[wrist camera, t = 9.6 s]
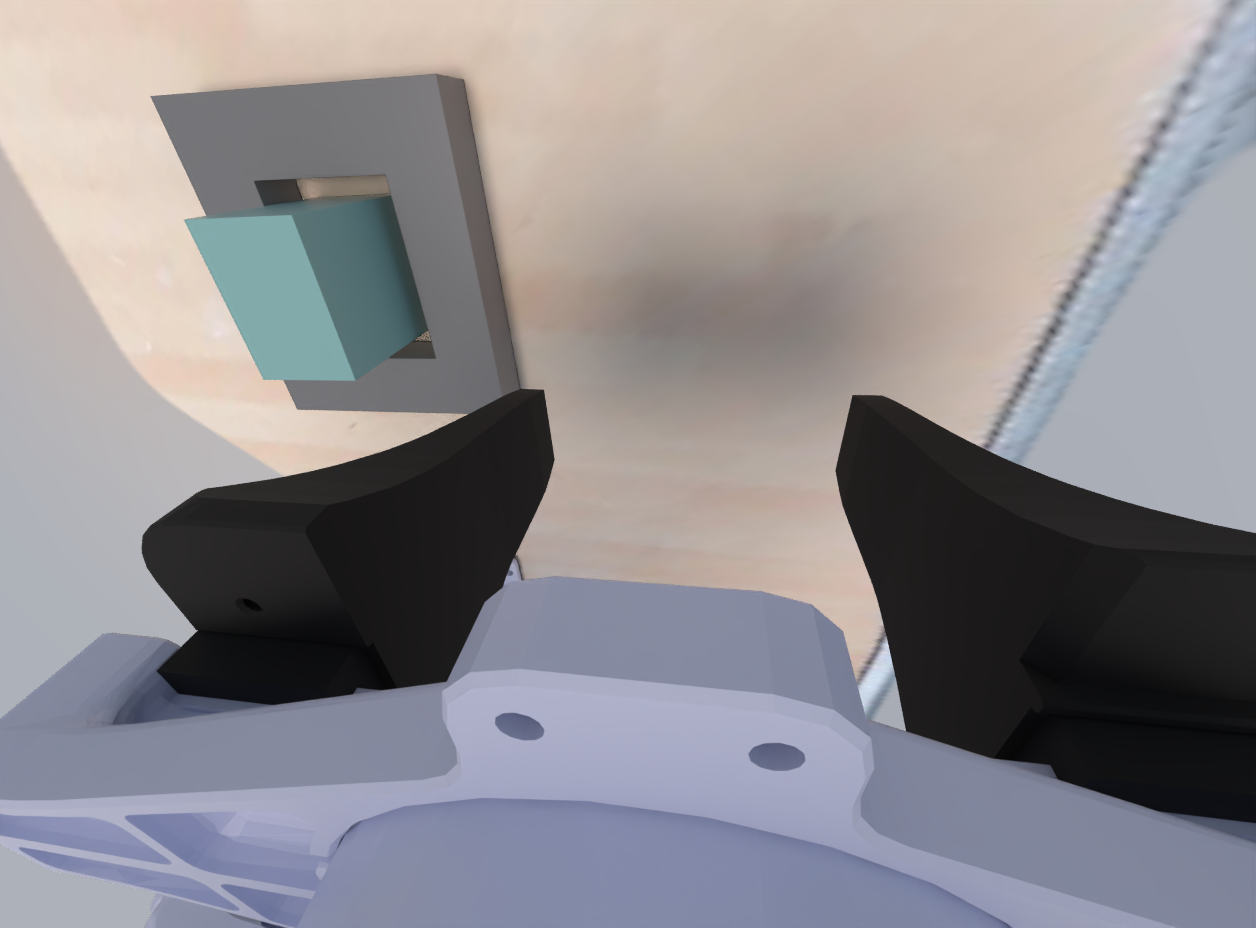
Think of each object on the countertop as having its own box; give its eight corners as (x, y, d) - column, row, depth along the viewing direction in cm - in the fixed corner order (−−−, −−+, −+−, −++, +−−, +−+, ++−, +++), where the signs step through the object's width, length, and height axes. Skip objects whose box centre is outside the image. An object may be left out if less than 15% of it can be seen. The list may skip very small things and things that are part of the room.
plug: (437, 323, 21) (355, 380, 16) (364, 324, 22) (263, 379, 17) (402, 192, 19) (291, 215, 14) (319, 197, 19) (184, 219, 14)
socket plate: (521, 394, 23) (506, 414, 21) (325, 390, 24) (297, 409, 22) (463, 79, 16) (435, 73, 15) (202, 99, 18) (150, 96, 16)
